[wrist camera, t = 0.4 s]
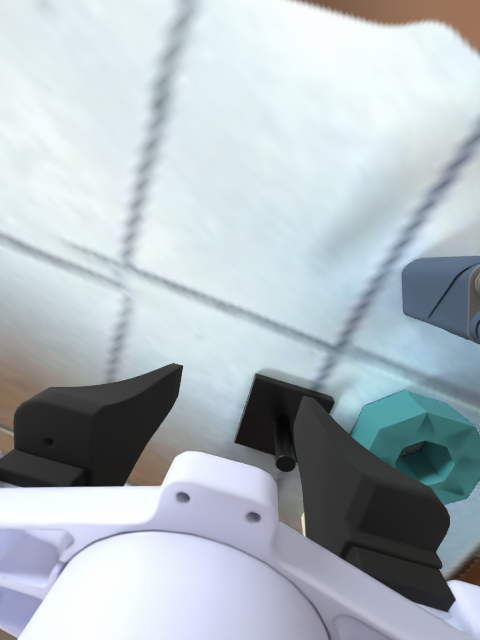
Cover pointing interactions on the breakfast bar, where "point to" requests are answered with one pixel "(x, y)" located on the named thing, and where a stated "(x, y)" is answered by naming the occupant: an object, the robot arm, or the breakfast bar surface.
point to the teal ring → (417, 426)
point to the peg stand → (275, 418)
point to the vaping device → (444, 294)
